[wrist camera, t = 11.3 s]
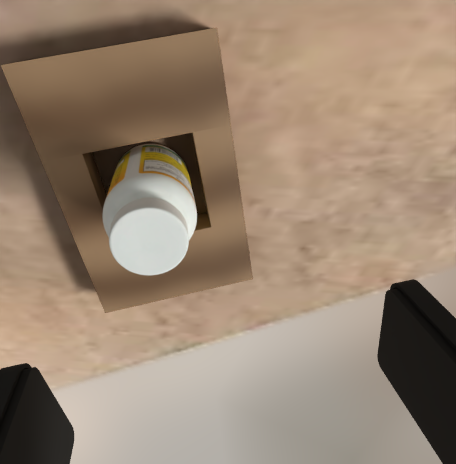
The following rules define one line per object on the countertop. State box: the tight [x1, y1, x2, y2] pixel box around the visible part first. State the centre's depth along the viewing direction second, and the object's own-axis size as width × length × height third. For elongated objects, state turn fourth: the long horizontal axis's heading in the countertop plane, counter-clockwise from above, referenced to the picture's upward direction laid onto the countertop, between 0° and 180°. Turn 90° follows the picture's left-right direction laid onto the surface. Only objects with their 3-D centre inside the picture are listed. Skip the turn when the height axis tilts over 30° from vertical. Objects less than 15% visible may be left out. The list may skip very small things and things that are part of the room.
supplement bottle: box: [103, 144, 197, 275], centre depth 23 cm, size 5×5×10 cm
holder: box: [1, 28, 253, 313], centre depth 26 cm, size 18×12×2 cm, turn 9°
